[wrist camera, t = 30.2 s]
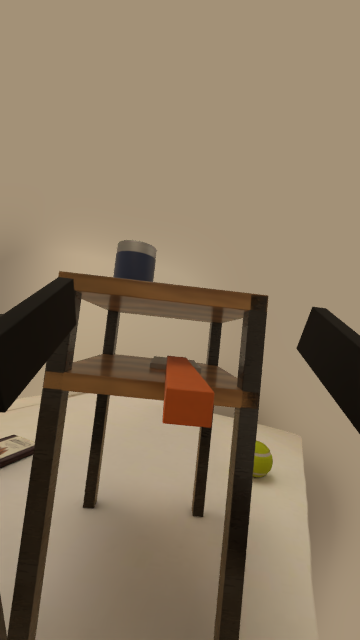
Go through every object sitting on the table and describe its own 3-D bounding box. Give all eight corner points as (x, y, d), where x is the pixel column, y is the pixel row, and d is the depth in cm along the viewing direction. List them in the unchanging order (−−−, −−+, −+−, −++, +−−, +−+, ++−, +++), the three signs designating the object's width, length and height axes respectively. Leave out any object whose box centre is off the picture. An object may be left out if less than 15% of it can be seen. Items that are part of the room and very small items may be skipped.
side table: (235, 683, 20) (268, 295, 22) (2, 670, 19) (58, 270, 21) (201, 509, 40) (220, 314, 42) (86, 500, 39) (111, 302, 41)
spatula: (253, 432, 11) (256, 396, 12) (119, 419, 11) (123, 382, 11) (193, 364, 38) (194, 353, 38) (153, 360, 38) (154, 349, 38)
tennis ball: (268, 488, 48) (271, 452, 48) (233, 476, 51) (236, 442, 51) (273, 473, 54) (275, 441, 54) (241, 463, 57) (244, 432, 57)
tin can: (149, 300, 34) (155, 242, 35) (106, 295, 34) (114, 237, 35) (151, 305, 40) (157, 255, 40) (115, 301, 40) (121, 251, 40)
